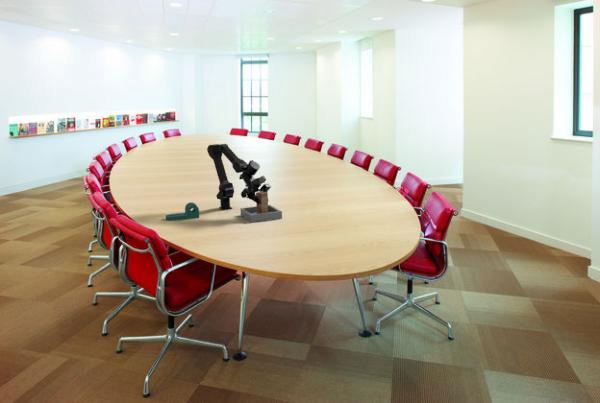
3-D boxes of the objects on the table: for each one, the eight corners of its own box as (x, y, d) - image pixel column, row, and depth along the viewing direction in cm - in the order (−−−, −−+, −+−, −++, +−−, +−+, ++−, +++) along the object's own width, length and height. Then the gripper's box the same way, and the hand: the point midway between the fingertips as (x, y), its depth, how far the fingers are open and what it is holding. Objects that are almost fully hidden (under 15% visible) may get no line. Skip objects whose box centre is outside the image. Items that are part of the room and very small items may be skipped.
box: (240, 215, 274) (240, 208, 273) (270, 211, 282) (269, 204, 281) (251, 222, 258) (250, 215, 258) (282, 218, 266) (281, 211, 265)
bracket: (197, 215, 276) (196, 201, 275) (199, 218, 270) (198, 204, 269) (165, 218, 270) (164, 204, 269) (166, 221, 264) (165, 207, 262)
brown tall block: (256, 215, 269) (256, 192, 266) (262, 213, 272) (261, 191, 269) (262, 216, 266) (261, 193, 263) (268, 215, 269) (267, 192, 266)
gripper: (243, 173, 260) (258, 196, 255) (268, 169, 273) (282, 191, 268) (234, 186, 267) (248, 208, 262) (259, 181, 280) (273, 202, 275)
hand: (263, 202), depth 267 cm, fingers open, 6 cm apart
